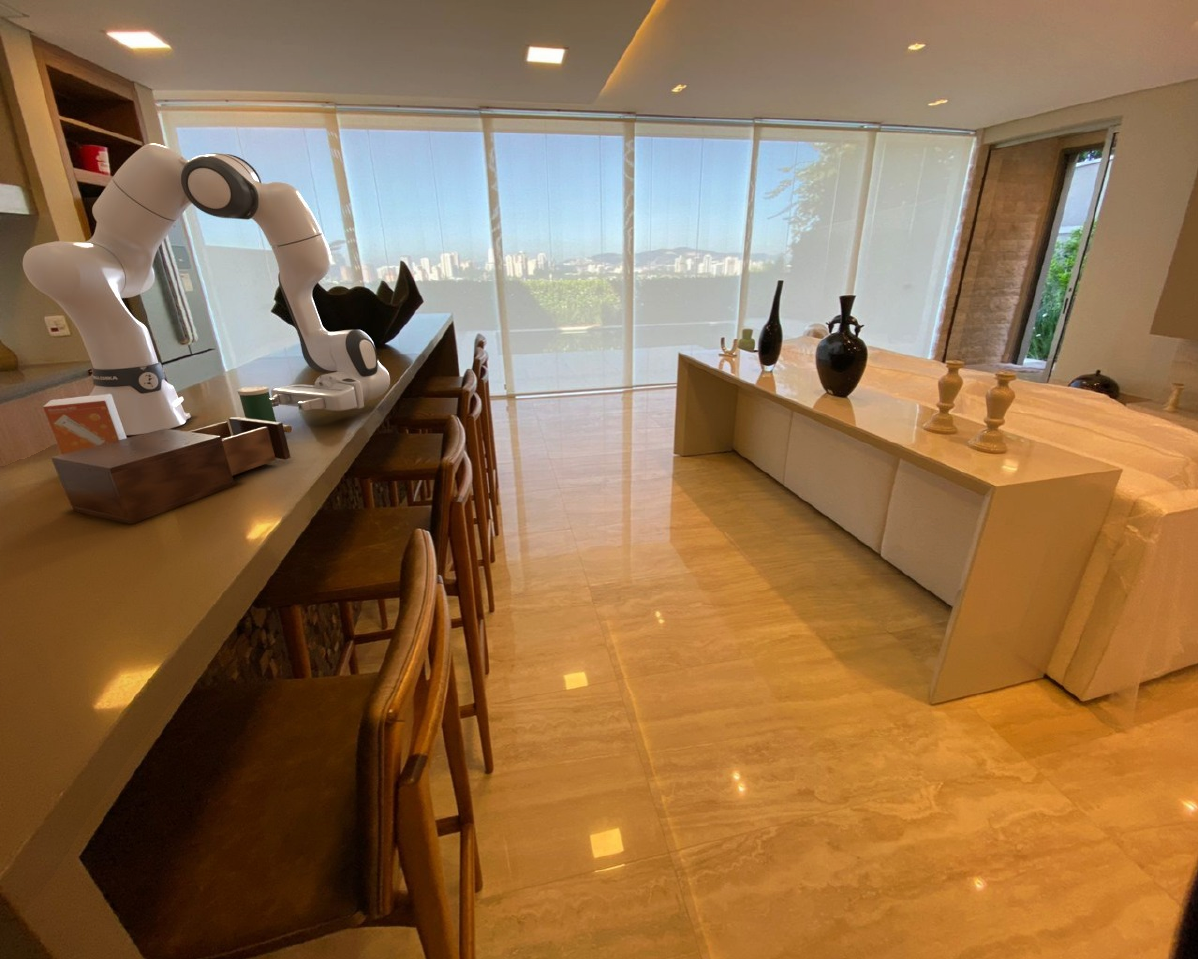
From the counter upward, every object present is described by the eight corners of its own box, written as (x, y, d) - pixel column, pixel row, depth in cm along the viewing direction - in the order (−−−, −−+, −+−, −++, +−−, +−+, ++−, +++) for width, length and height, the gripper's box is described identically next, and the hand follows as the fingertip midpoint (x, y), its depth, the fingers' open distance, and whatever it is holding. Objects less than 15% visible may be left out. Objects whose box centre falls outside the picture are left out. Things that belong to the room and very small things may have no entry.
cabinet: (180, 475, 93) (165, 428, 90) (235, 485, 89) (221, 436, 85) (73, 511, 80) (50, 457, 76) (131, 524, 75) (109, 468, 72)
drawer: (263, 444, 106) (254, 411, 104) (309, 450, 102) (301, 416, 100) (164, 476, 90) (151, 438, 88) (214, 485, 86) (202, 446, 84)
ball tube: (245, 442, 111) (231, 390, 106) (268, 435, 115) (255, 385, 111) (263, 445, 109) (250, 392, 105) (286, 437, 113) (274, 387, 109)
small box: (71, 479, 92) (40, 406, 87) (78, 469, 96) (50, 399, 92) (131, 470, 96) (105, 399, 91) (135, 460, 101) (111, 393, 96)
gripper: (299, 376, 129) (246, 387, 117) (364, 381, 123) (316, 394, 111) (304, 401, 132) (253, 414, 120) (369, 408, 125) (322, 423, 113)
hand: (284, 405), depth 115 cm, fingers open, 8 cm apart
